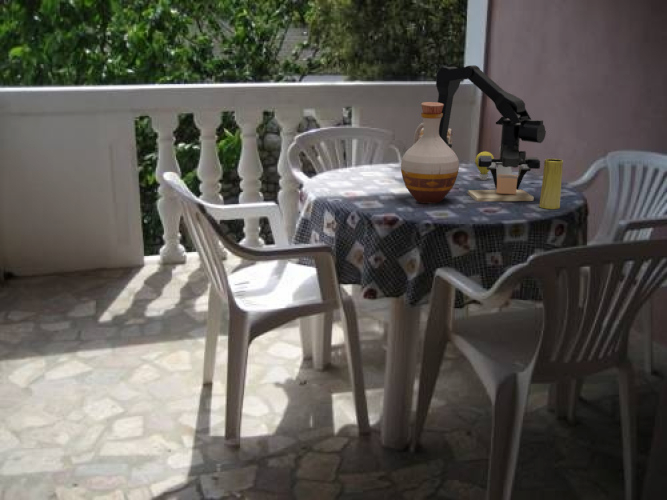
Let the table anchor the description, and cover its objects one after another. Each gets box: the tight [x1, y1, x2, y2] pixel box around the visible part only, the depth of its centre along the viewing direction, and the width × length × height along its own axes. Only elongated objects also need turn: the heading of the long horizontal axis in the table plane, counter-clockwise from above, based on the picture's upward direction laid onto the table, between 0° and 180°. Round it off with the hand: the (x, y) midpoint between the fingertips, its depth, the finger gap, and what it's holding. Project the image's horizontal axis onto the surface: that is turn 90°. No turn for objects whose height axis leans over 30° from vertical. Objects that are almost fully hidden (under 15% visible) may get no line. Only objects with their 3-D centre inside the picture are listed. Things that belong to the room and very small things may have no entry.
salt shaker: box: [496, 147, 513, 176], centre depth 247 cm, size 6×6×13 cm
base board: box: [467, 189, 534, 203], centre depth 227 cm, size 18×11×4 cm, turn 95°
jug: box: [400, 101, 460, 204], centre depth 219 cm, size 20×18×30 cm
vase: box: [538, 158, 564, 210], centre depth 213 cm, size 6×6×14 cm
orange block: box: [496, 174, 518, 194], centre depth 227 cm, size 6×6×5 cm
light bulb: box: [474, 151, 495, 181], centre depth 254 cm, size 7×7×10 cm
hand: (506, 188), depth 227 cm, fingers closed on orange block, 6 cm apart
